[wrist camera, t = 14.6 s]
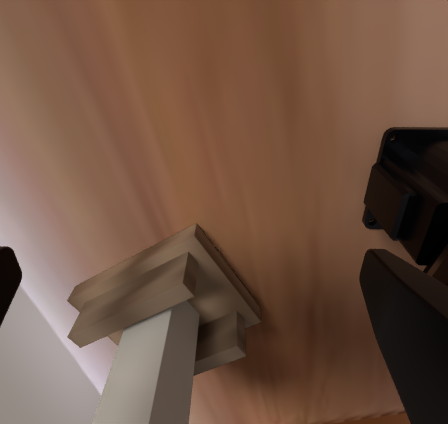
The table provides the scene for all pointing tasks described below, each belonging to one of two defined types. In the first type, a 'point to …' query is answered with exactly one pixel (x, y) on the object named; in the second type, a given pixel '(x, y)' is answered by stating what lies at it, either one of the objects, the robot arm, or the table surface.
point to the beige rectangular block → (152, 370)
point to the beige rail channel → (170, 297)
